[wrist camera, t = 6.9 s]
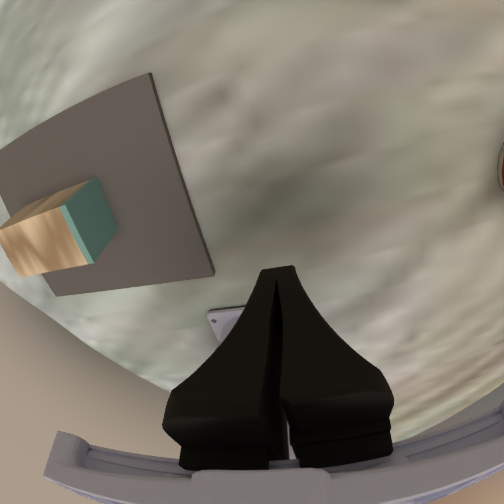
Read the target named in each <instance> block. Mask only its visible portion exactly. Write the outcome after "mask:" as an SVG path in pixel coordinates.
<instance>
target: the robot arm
mask: <svg viewBox="0 0 504 504" xmlns="http://www.w3.org/2000/svg"><path fill="white" fill-rule="evenodd" d="M207 318H208V320H209V323H210V325H211V327H212V329H213V331H214V334H215V336H216V338H217V340H218V342H219V347H218V348H217V349H216V350H215V352H214V353H213V354H212V355H211V356H210V357H209V358H208V359H207V360H206V361H205V362H204V363H203V364H202V365H201V366H200V367H199V368H198V369H197V370H196V371H195V372H194V373H193V374H192V375H191V376H189V377H188V378H187V379H186V380H184V381H183V382H182V383H181V384H179V385H178V386H177V387H176V388H174V389H173V390H172V391H171V394H170V397H169V399H168V402H167V405H166V409H165V414H164V419H163V423H162V426H163V429H164V431H165V432H166V433H167V434H168V435H169V436H170V437H171V438H172V439H173V440H175V441H176V442H177V443H178V444H179V445H180V446H181V452H180V459H173V458H164V457H156V456H149V455H141V454H135V453H129V452H123V451H117V450H113V449H108V448H103V447H99V446H94V445H90V444H89V443H88V442H86V441H85V440H84V439H82V438H80V437H78V436H76V435H73V434H69V433H65V432H61V431H58V432H57V434H56V437H55V440H54V443H53V446H52V449H51V452H50V455H49V458H48V461H47V465H46V468H45V471H44V478H46V479H48V480H50V481H52V482H54V483H56V484H58V485H60V486H62V487H64V488H66V489H68V490H70V491H72V492H74V493H76V494H79V495H81V496H84V497H87V498H89V499H92V500H95V501H98V502H101V503H104V504H425V503H429V502H431V501H434V500H437V499H439V498H442V497H445V496H447V495H449V494H452V493H455V492H457V491H460V490H462V489H464V488H467V487H469V486H471V485H473V484H475V483H477V482H480V481H482V480H484V479H486V478H488V477H490V476H492V475H494V474H496V473H497V472H499V471H501V470H503V469H504V400H503V402H502V403H501V405H500V406H499V407H496V408H494V409H492V410H490V411H487V412H485V413H483V414H480V415H478V416H475V417H473V418H471V419H468V420H465V421H463V422H460V423H457V424H455V425H452V426H449V427H446V428H443V429H440V430H437V431H434V432H431V433H428V434H424V435H421V436H418V437H414V438H411V439H407V440H403V441H399V442H395V443H392V439H391V434H390V430H391V424H390V419H389V416H390V414H391V411H392V408H393V406H394V397H393V394H392V391H391V389H390V387H389V384H388V383H387V381H386V379H385V377H384V376H383V374H382V372H381V371H380V370H379V369H378V368H377V367H375V366H374V365H372V364H371V363H370V362H368V361H367V360H366V359H364V358H363V357H362V356H360V355H359V354H358V353H357V352H356V351H354V350H353V349H352V348H351V347H350V346H349V345H348V344H347V343H346V342H345V341H344V340H343V339H342V338H340V337H339V336H338V335H337V333H336V332H335V331H334V330H333V329H332V328H331V327H330V326H329V325H328V323H327V322H326V321H325V320H324V319H323V317H322V316H321V315H320V313H319V312H318V311H317V309H316V308H315V306H314V305H313V303H312V302H311V300H310V299H309V297H308V295H307V294H306V292H305V290H304V289H303V287H302V285H301V283H300V281H299V278H298V276H297V273H296V270H295V267H294V266H293V265H290V266H283V267H276V268H270V269H263V270H261V272H260V274H259V277H258V280H257V282H256V285H255V287H254V289H253V292H252V294H251V296H250V298H249V300H248V302H247V304H246V306H245V307H240V308H232V309H223V310H214V311H209V312H208V314H207ZM213 319H215V320H213Z"/></svg>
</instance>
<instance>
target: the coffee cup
mask: <svg viewBox="0 0 504 504" xmlns="http://www.w3.org/2000/svg"><path fill="white" fill-rule="evenodd" d="M497 172H498V181H499V184H500V186H501V188H502V190H503V192H504V144H503V146H502V149H501V151H500V153H499V159H498V166H497Z"/></svg>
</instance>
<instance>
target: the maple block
mask: <svg viewBox="0 0 504 504" xmlns="http://www.w3.org/2000/svg"><path fill="white" fill-rule="evenodd" d="M117 231H118V226H117V224H116V222H115V220H114V217H113V215H112V213H111V210H110V208H109V206H108V203H107V201H106V199H105V196H104V194H103V191H102V189H101V187H100V184H99V182H98V179H97V177H96V178H94V179H91V180H88V181H85V182H83V183H80V184H77V185H74V186H72V187H69V188H67V189H64V190H62V191H59V192H56V193H54V194H52V195H49V196H47V197H44V198H42V199H40V200H37V201H35V202H33V203H30V204H28V205H26V206H24V207H23V208H21V209H20V210H19V211H18V212H17V213H16V214H14V215H13V216H12V217H11V218H10V219H9V220H8V221H7V222H5V223H4V224H3V225H2V226H1V227H0V244H1V246H2V248H3V249H4V251H5V253H6V255H7V257H8V258H9V260H10V262H11V263H12V265H13V267H14V269H15V270H16V272H17V273H18V275H19V277H25V276H30V275H35V274H40V273H45V272H50V271H56V270H61V269H66V268H71V267H76V266H82V265H87V264H92V263H95V261H96V260H97V258H98V257H99V256H100V254H101V253H102V251H103V250H104V248H105V247H106V246H107V244H108V243H109V242H110V240H111V239H112V237H113V236H114V235H115V233H116V232H117Z"/></svg>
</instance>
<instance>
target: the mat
mask: <svg viewBox="0 0 504 504" xmlns="http://www.w3.org/2000/svg"><path fill="white" fill-rule="evenodd" d="M96 177H97V179H98V182H99V184H100V187H101V189H102V191H103V194H104V196H105V199H106V201H107V203H108V206H109V208H110V210H111V213H112V215H113V217H114V220H115V222H116V224H117V226H118V231H117V232H116V233H115V235H114V236H113V237H112V239H111V240H110V242H109V243H108V244H107V246H106V247H105V248H104V250H103V251H102V253H101V254H100V256H99V257H98V258H97V260H96V261H95V263H92V264H87V265H82V266H76V267H71V268H66V269H61V270H56V271H50V272H45V273H41V274H42V275H43V277H44V279H45V280H46V282H47V283H48V285H49V286H50V288H51V290H52V291H53V293H54V294H55V296H56V297H57V296H65V295H74V294H82V293H90V292H98V291H106V290H114V289H122V288H130V287H137V286H145V285H153V284H160V283H167V282H175V281H182V280H189V279H197V278H204V277H211V276H214V274H215V271H214V268H213V266H212V263H211V260H210V257H209V254H208V251H207V249H206V246H205V243H204V240H203V237H202V234H201V231H200V228H199V225H198V223H197V220H196V217H195V214H194V211H193V208H192V205H191V202H190V199H189V196H188V193H187V190H186V187H185V183H184V180H183V177H182V174H181V171H180V168H179V165H178V162H177V158H176V155H175V152H174V149H173V146H172V142H171V139H170V136H169V133H168V129H167V126H166V123H165V119H164V116H163V113H162V109H161V106H160V102H159V99H158V96H157V92H156V89H155V85H154V81H153V78H152V74H151V73H147V74H145V75H142V76H139V77H137V78H134V79H132V80H129V81H127V82H124V83H122V84H119V85H117V86H115V87H112V88H110V89H108V90H106V91H103V92H101V93H99V94H97V95H95V96H93V97H90V98H88V99H86V100H84V101H82V102H80V103H78V104H76V105H74V106H72V107H70V108H68V109H67V110H65V111H63V112H61V113H59V114H57V115H55V116H54V117H52V118H50V119H48V120H47V121H45V122H43V123H41V124H40V125H38V126H36V127H35V128H33V129H32V130H30V131H28V132H27V133H25V134H24V135H22V136H20V137H19V138H17V139H16V140H14V141H13V142H11V143H10V144H8V145H7V146H5V147H4V148H3V149H1V150H0V195H1V197H2V199H3V202H4V204H5V206H6V208H7V210H8V212H9V215H10V217H12V216H13V215H14V214H16V213H17V212H18V211H19V210H20V209H21V208H23V207H24V206H26V205H28V204H30V203H33V202H35V201H37V200H40V199H42V198H44V197H47V196H49V195H52V194H54V193H56V192H59V191H62V190H64V189H67V188H69V187H72V186H74V185H77V184H80V183H83V182H85V181H88V180H91V179H94V178H96Z"/></svg>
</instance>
